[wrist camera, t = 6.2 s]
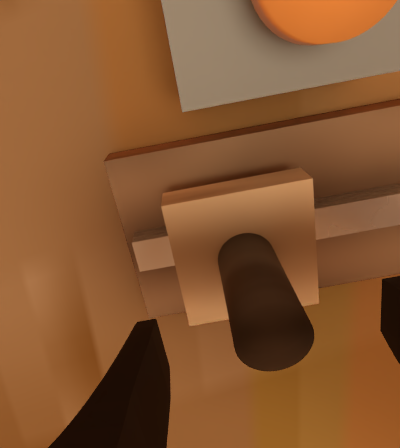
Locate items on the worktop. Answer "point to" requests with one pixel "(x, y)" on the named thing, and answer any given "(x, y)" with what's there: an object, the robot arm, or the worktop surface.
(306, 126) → the board
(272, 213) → the carriage
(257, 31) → the gauge box
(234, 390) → the worktop surface
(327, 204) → the guide rail
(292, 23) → the button
